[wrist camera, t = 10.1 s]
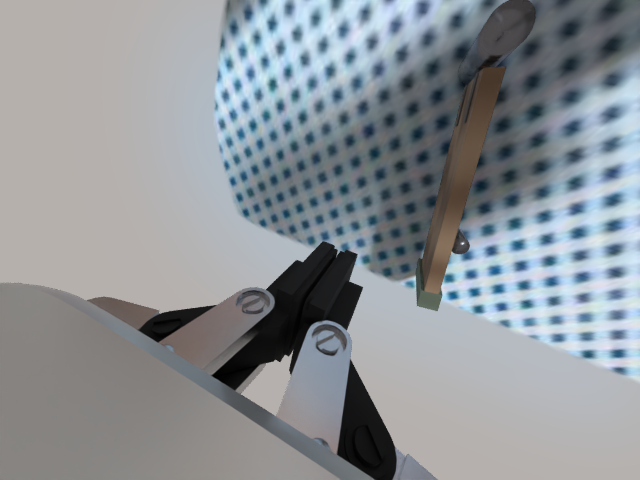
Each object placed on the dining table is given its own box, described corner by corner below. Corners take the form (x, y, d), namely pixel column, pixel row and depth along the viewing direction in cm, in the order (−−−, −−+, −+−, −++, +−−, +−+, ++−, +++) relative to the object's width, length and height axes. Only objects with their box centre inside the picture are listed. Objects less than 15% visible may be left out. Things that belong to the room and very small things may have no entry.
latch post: (461, 223, 25) (471, 240, 21) (457, 237, 26) (466, 255, 22) (445, 221, 26) (452, 237, 21) (442, 234, 26) (447, 252, 22)
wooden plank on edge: (458, 90, 21) (478, 68, 15) (481, 90, 20) (512, 66, 14) (415, 271, 28) (417, 305, 22) (431, 274, 27) (437, 310, 21)
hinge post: (493, 51, 20) (543, -5, 12) (484, 84, 21) (525, 50, 13) (462, 53, 20) (491, 1, 13) (454, 85, 21) (477, 53, 14)
